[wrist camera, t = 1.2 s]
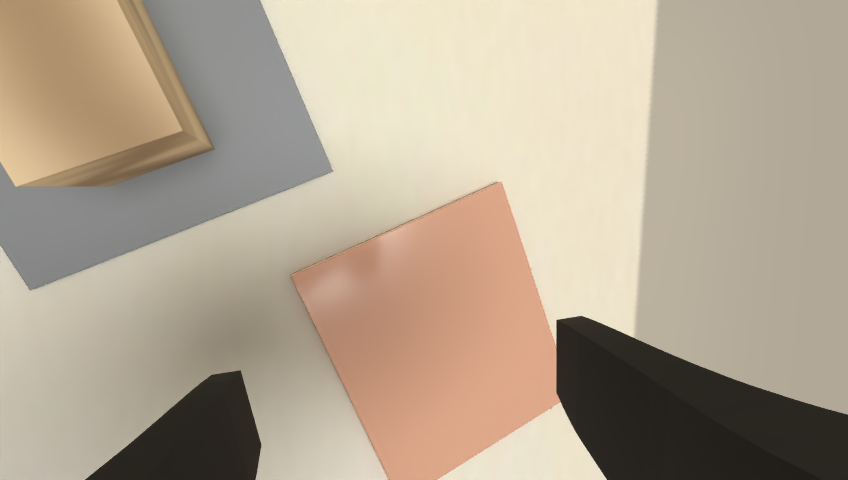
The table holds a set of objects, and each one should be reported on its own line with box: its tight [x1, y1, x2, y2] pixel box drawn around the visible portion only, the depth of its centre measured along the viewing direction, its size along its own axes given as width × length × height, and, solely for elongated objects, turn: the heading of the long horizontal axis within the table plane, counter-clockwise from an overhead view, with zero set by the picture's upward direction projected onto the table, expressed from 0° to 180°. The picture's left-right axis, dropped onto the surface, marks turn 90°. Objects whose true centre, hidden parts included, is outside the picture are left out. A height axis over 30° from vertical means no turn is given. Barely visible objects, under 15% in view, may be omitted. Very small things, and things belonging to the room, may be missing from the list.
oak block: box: [0, 0, 215, 187], centre depth 13 cm, size 4×7×6 cm, turn 22°
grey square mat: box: [0, 0, 333, 290], centre depth 16 cm, size 12×12×1 cm
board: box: [291, 182, 561, 480], centre depth 21 cm, size 11×13×1 cm
